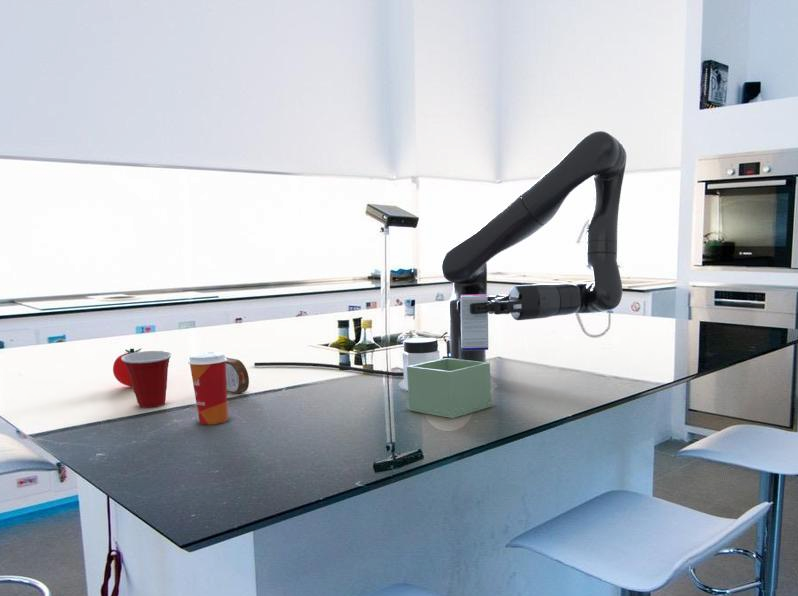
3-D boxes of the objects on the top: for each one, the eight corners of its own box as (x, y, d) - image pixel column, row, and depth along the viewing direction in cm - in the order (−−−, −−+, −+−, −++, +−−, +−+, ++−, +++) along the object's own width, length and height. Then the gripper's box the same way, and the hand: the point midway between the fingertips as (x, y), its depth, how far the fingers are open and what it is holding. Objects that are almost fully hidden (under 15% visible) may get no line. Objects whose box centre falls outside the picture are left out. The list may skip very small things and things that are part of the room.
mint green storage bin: (408, 410, 160) (406, 366, 158) (448, 399, 169) (446, 357, 167) (452, 418, 152) (450, 372, 150) (491, 406, 161) (489, 362, 159)
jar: (444, 391, 178) (443, 340, 176) (412, 394, 176) (409, 343, 173) (432, 384, 187) (430, 336, 184) (401, 388, 184) (398, 339, 182)
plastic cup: (129, 412, 168) (122, 359, 166) (125, 404, 178) (118, 353, 175) (180, 406, 173) (174, 354, 171) (173, 397, 183) (167, 349, 180)
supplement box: (489, 350, 159) (487, 295, 157) (461, 351, 159) (459, 296, 157) (488, 345, 165) (486, 293, 162) (461, 347, 165) (459, 294, 162)
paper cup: (199, 417, 161) (192, 352, 158) (236, 415, 162) (229, 351, 159) (190, 426, 153) (182, 358, 151) (228, 424, 154) (222, 357, 151)
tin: (251, 394, 184) (248, 359, 182) (240, 396, 182) (236, 361, 180) (218, 387, 194) (215, 354, 192) (207, 389, 192) (204, 356, 190)
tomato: (106, 389, 197) (101, 351, 195) (136, 381, 207) (131, 345, 205) (136, 390, 193) (132, 352, 191) (166, 382, 203) (161, 346, 201)
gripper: (519, 282, 171) (451, 287, 165) (549, 286, 157) (475, 291, 152) (520, 315, 172) (452, 321, 167) (549, 321, 159) (477, 328, 153)
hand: (464, 307), depth 159 cm, fingers closed on supplement box, 7 cm apart
